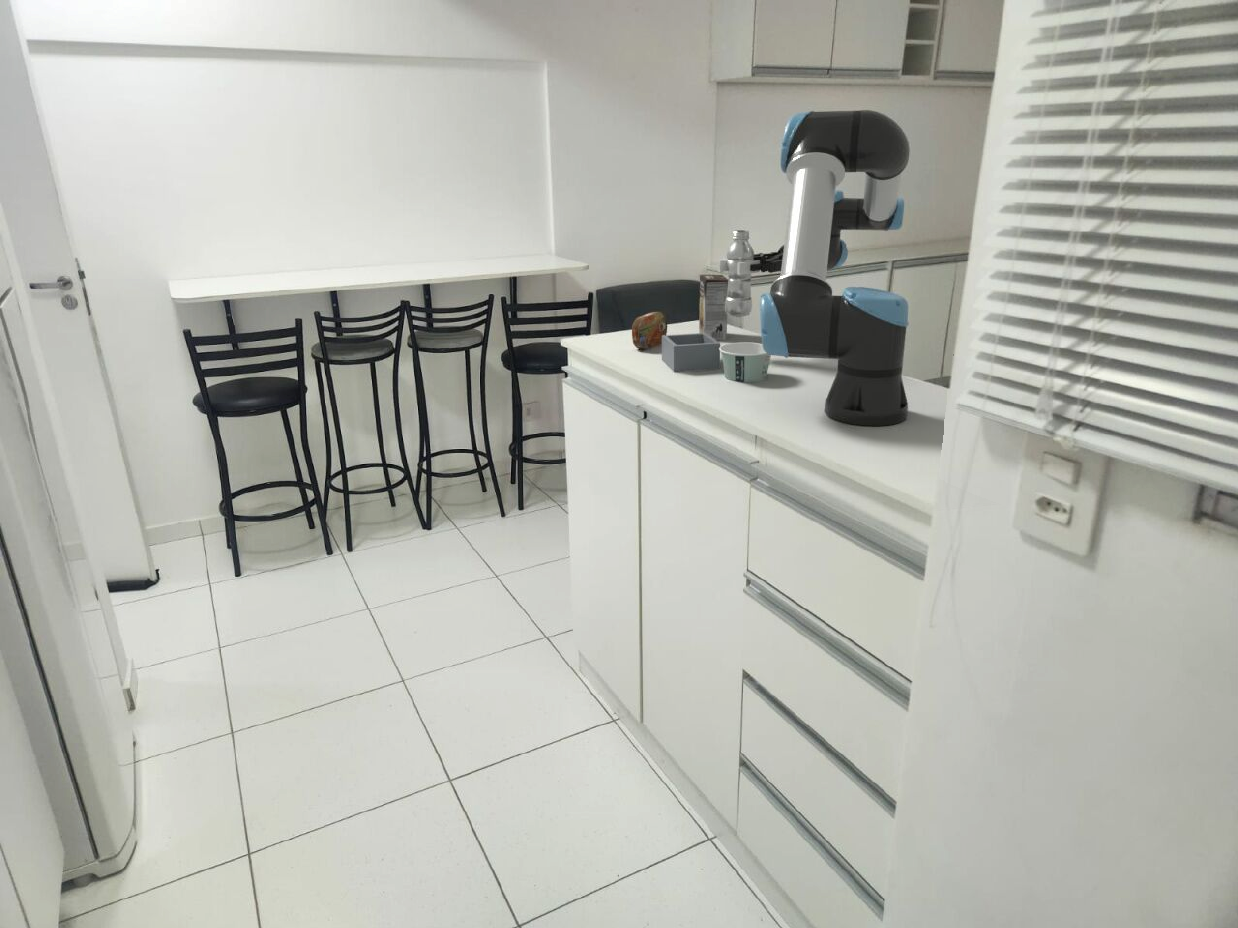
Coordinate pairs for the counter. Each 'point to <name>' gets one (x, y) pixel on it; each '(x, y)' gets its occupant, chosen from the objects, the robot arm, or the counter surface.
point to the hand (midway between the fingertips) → (728, 267)
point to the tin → (649, 330)
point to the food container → (744, 361)
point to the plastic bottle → (739, 276)
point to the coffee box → (713, 306)
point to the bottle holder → (690, 352)
